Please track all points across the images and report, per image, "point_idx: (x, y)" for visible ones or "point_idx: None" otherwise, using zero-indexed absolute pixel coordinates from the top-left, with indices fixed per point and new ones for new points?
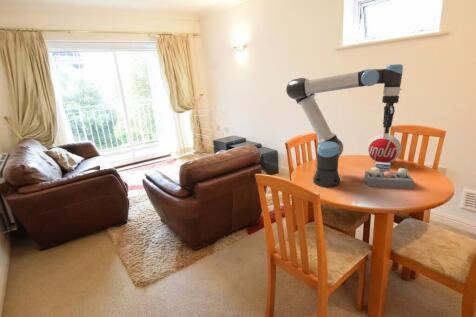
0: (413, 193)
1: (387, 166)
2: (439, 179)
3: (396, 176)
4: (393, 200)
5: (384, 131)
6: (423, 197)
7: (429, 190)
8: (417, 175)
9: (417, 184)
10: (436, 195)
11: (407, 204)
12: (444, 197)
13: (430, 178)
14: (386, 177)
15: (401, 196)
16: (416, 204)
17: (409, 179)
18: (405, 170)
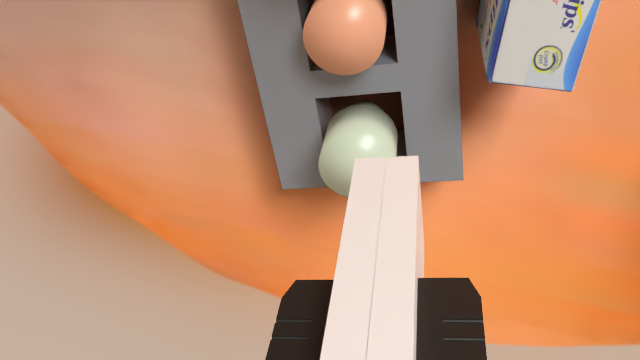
0: (208, 141)
1: (491, 48)
2: (509, 320)
3: (346, 90)
4: (27, 5)
5: (333, 297)
6: (168, 179)
7: (295, 230)
8: (582, 232)
9: None
10: (229, 242)
11: (16, 79)
12: (217, 267)
13: (522, 285)
14: (294, 4)
15: (122, 64)
16: (45, 125)
17: (301, 167)
18: (336, 180)
